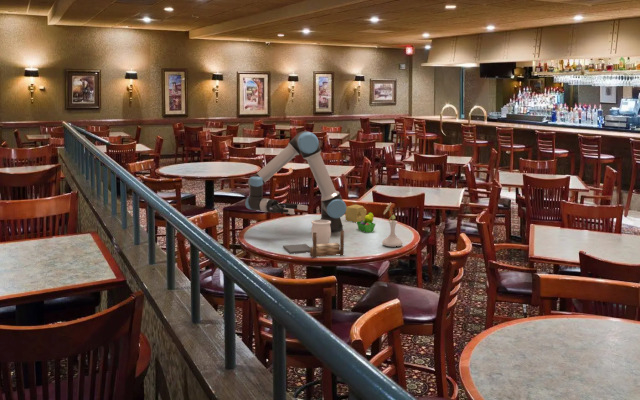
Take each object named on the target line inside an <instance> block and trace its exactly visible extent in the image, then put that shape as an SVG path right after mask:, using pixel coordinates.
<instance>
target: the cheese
mask: <svg viewBox="0 0 640 400" xmlns="http://www.w3.org/2000/svg"><path fill="white" fill-rule="evenodd" d="M367 214H368V210H367V209H366V208H365V207H364V206H363V205H359V204H352V205H349V206H347V205H346V212H345V214H344V215H345V216H344V217H345V221H346V220H347V221H346V222H349V221H353V222H352V223H354V222H360V221H365V216H366V215H367Z"/></svg>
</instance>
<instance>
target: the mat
mask: <svg viewBox="0 0 640 400" xmlns="http://www.w3.org/2000/svg"><path fill="white" fill-rule="evenodd" d="M311 247H312V246H311ZM311 247H310V245H308V244H306V243H303V244H302V243H300V244H290V245H289V244H285V245H282V248H283V249H284V250H285V251H286V252H287V253H289V254H290V255H292V254H293V255H294V253H295V254H306V252H308V253H310V251H311Z"/></svg>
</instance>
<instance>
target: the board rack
mask: <svg viewBox="0 0 640 400" xmlns="http://www.w3.org/2000/svg"><path fill="white" fill-rule="evenodd" d="M339 232H340V233H339V236H340V238H339V239H340V243H338V242H329V243H326V244H316V243H317V233H316V232H314V233H313V241H312V246H311V251H310V252H309V255H310V256H311V257H312V256H313V257H312V258H313V259H316V258H317V257H316V256H319V257H327V256H326V255H331V256H337V255H336V254H340V255H339V256H341V255H343V254H345V253H344V252H345V250H344V249H345V246H344V245H345V231H344V230H342V231H339ZM343 256H344V255H343Z"/></svg>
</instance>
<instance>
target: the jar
mask: <svg viewBox="0 0 640 400" xmlns="http://www.w3.org/2000/svg"><path fill="white" fill-rule="evenodd" d="M311 224H312V226H311V230H310V231H311V240H312V242H313V233H314V232H316V233H317V243H316V244H326V243H330V242H331V235H332V232H331V227H330V224H331V221H329V220H320V219H314V220H311Z"/></svg>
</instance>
